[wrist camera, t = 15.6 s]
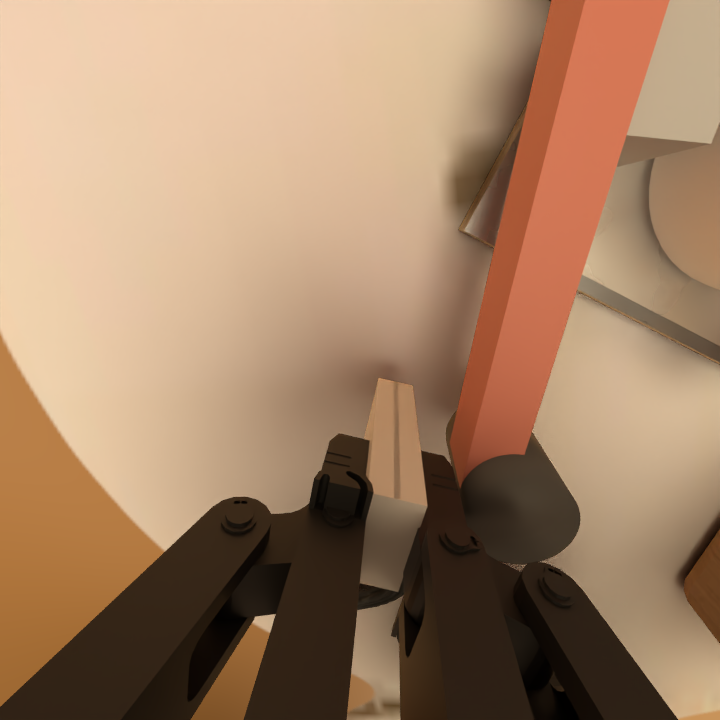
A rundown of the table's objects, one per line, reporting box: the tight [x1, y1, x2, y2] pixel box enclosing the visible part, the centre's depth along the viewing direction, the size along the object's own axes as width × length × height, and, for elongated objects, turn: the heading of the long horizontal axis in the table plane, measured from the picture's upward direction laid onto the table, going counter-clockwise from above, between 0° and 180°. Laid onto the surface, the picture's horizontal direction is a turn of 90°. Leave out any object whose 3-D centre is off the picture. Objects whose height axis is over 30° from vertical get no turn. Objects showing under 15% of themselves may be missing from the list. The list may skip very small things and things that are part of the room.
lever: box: [446, 0, 720, 564], centre depth 10 cm, size 20×4×6 cm, turn 174°
